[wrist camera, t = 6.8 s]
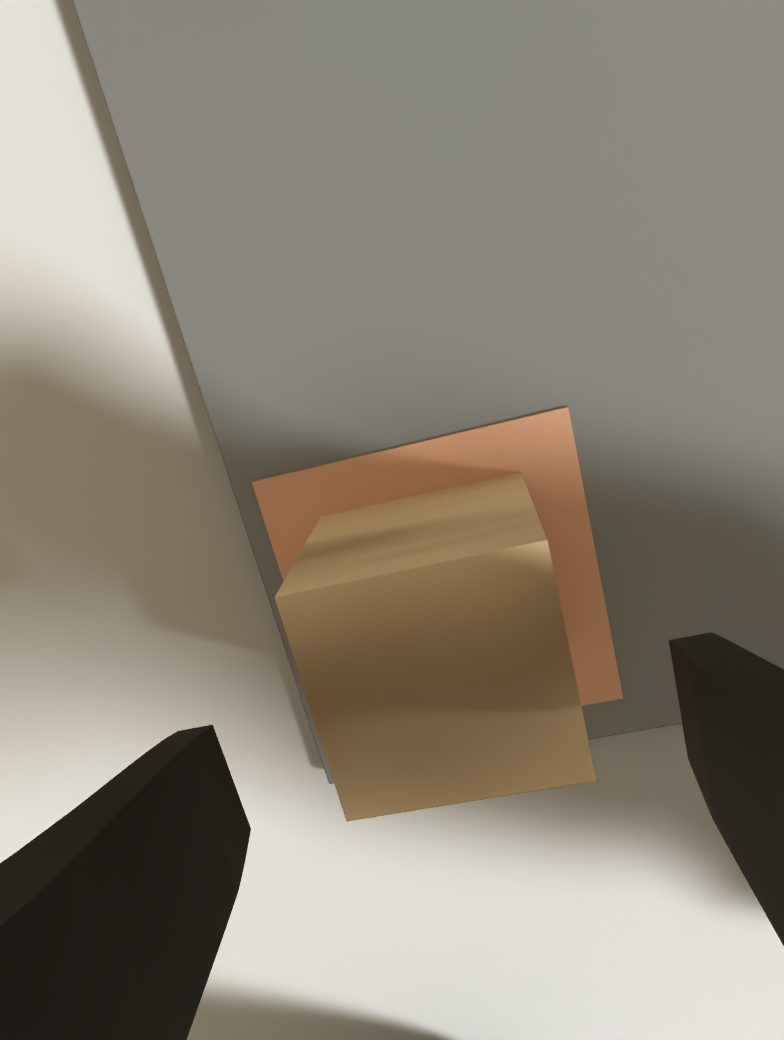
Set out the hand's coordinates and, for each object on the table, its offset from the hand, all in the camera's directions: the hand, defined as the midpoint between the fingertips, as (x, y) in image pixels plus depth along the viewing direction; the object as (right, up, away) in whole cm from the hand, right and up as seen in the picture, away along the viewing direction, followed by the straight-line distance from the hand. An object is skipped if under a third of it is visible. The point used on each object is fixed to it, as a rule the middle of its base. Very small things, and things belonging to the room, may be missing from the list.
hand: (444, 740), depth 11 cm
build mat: (+1, +9, +4) cm, 9 cm away
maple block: (0, +2, +5) cm, 6 cm away
